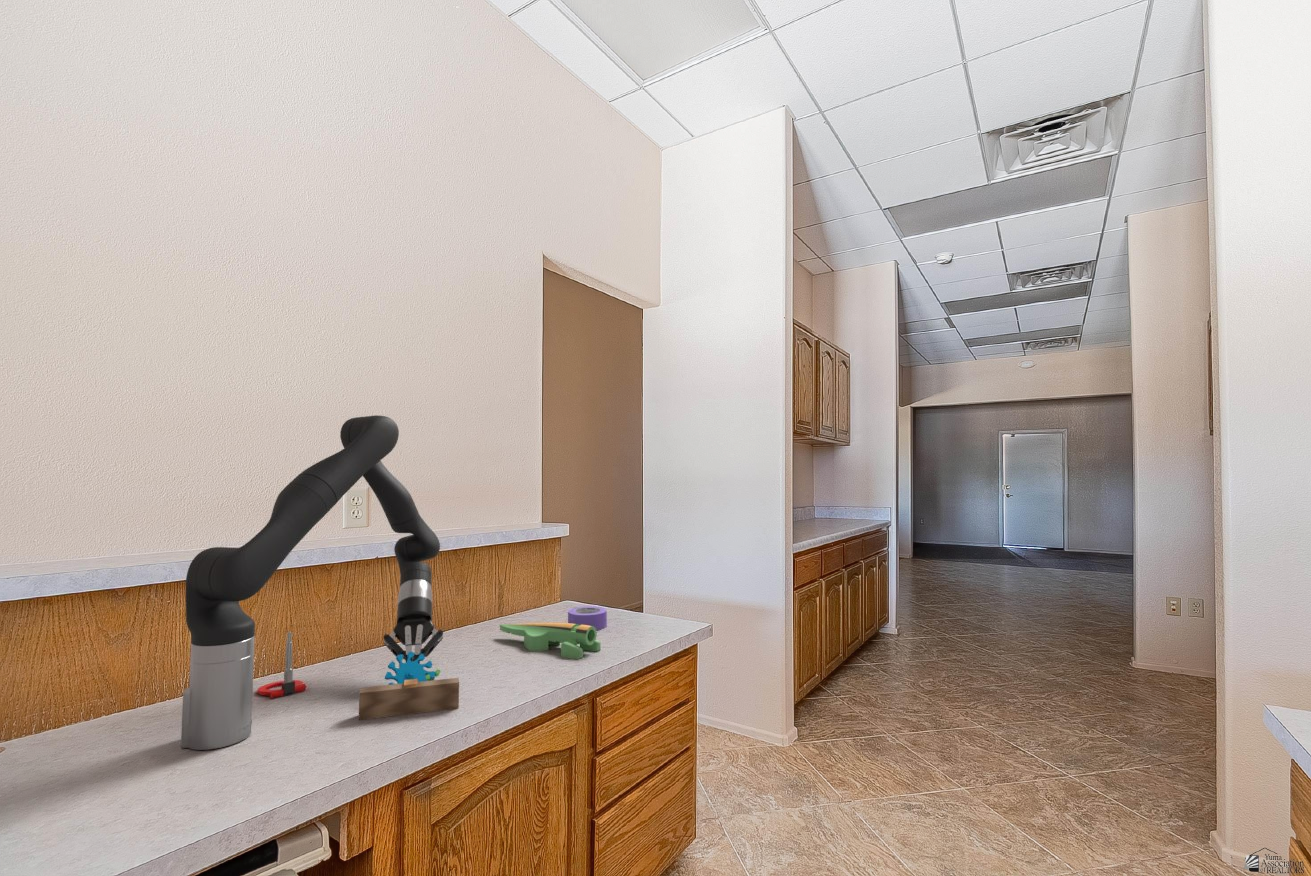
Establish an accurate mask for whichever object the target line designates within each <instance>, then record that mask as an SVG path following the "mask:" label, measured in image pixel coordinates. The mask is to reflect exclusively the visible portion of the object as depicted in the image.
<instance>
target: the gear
mask: <svg viewBox="0 0 1311 876" xmlns="http://www.w3.org/2000/svg"><path fill="white" fill-rule="evenodd" d="M414 654H415V653H414V651H412V652H409V653H408V654H407V657H408V659H407V662H406V661H405V662H403V660H404V659H403V657H404V656H403V654H400V655H397V657H396V656H395V659H396V661H397V662H398V667H396V661H390V662H389V663H388V665H387V668H388V669H390V670H392V671H393V672H394V673H395V675H393V674H392V672H391V671H387V672H386V674H385V676H384V680H388V681H389V680H394V681H396V684H403V683H404V681H405V680H410V679H418V682H422V681H432V680H435V678H436V677H439V675H440V674H441V670H440V669H439V668H438V669H436V670H435V671H434V670H431V671H428V670H425V669H424V668H426V669H431V668H433V662H432V661H431V660H428V661H427V662H425V663H420V664H419V663H418V661H420V662H423V661H424V660H425V658H426V657H425V656H424V655H423V654H420V655H419V657H418V659H417V660H415V661H413V662H412V661H411V660H410V659H411V658H413V656H414ZM394 684H395V683H394V682H388V684H387V685H394Z"/></svg>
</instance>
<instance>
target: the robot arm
mask: <svg viewBox="0 0 1311 876" xmlns="http://www.w3.org/2000/svg"><path fill="white" fill-rule="evenodd" d="M399 436H400V432H399V427H398V423H396V421H395V420H393V419H392V418H391V417H389V416H384V415H367V416H357V417H352V418H349V419H347V420H346V421H345V422H344V423H343V424H342V426H341V428H340V442H341V445H342V447H343V448H342V449H341V450H340V451H338V452H335V453H333V454H332V455H329V456H328V457H325V458H323V459H322V460H320V461H318V462H316V463H313V464H312V465H311V466H309V467H307V468H306V469H304V470H303V471H301V472H300V473H299V474H298V475H297V476H295V478H293V479H292V480H291V481H290V482H289V483H288V484H287V485H286V486H285V487H283V489H282V490H281V491H280V492H279V494H278V496H277V497H276V500H275V502H274V505H273V508H272V512H271V515H270V517H269V520H268V522H267V523H266V524H265V526H264V527H263V528H262V529H261V530H260V531H259V532H258V533H257V534H255V535H254V536H253V537H252V538H251V539H250V540H248V542H246V543H245V544H243V545H242V546H240V547H225V546H223V547H222V546H215V547H209V548H207V549H204V550H201V551H200V552H199V553H197V555H196V556H194V558H193V559H192V560H191V562H190V564H189V567H188V569H187V572H186V576H185V577H186V579H185V621H186V626H187V628H188V630H189V633H190V638H191V639H190V662H189V666H190V667H189V668H190V669H189V686H188V687H187V688H184V690H183V692H182V707H181V708H182V712H181V713H182V715H181V734H180V748H181V749H183V748H186V749H187V748H188V749H190V750H197V751H204V750H205V751H206V750H216V749H219V748H220V749H221V748H224V747H229V746H232V745H234V744H237V743H240V742H242V741H243V740H245V739H247V738H248V737H249V736H250V735H251V733H252V723H253V717H252V716H253V693H254V692H253V691H254V689H253V688H254V668H255V667H254V663H255V638H256V637H255V635H256V624H255V620H254V619H253V618H252V617H250V616H249V615H248V614H247V613H246V612H245V611H244V610H243V609H242V607H241V605H240V601H241V602H242V601H245V600H247V599H250V598H252V597H253V596H254V595H256V594H258V592H259V591H261V589H262V588H264V586H265V585H266V584H267V582H268V581H269V580H270V579H271V577H272V576H273V575H274V573H275V572H276V571H277V570H278V569H279V567H280V566H281V565H282V563H283V562H284V560H286V559H287V558H288V556H289V554H290V553H291V552H292V550H294V549H295V547H297V545H298V544H299V543H300V541H302V540H303V539H304V538H305V536H307V535H308V533H309V532H310V531H311V530H312V529H313V528H314V527H315V526H316V525H317V524H318V523H319V522H320V521H321V520H322V519H323V518H324V517H325V515H327V514H328V513H329V512H330V511H331V509H333V508H334V507H335V506H336V504H337V503H338V502H339V501H340V500H341V499H342V498H343V496H344V495H345V494H346V493H347V492H349V491H350V489H352V488H353V486H354V485H355V484H357V482H358V481H359V480H361V478H364V480H365V481H366V483H367V484H368V486H369V487H370V489H371V490H372V491H373V493H374V494H375V496H376V498H377V500H378V502H379V504H380V506H381V508H382V510H383V513H384V514H385V517H386V519H387V522H388V523H389V526H390V528H391V529H392V531H393V532H394V533H397V534H409V535H407V536H403V537H401V538H399V539H398V540H397V541H396V543H395V545H394V547H393V548H394V549H393V550H394V551H393V552H394V555H395V557H396V560H397V563H398V568H399V574H400V579H399V592H398V596H397V610H396V611H397V612H396V624H395V626H394V627H393V631H392V632H391V633H389V634H384V635H383V644H384V645H385V646H386V648H387V649H388V650H389V651H390V652H391V653H392V654H393V655H394V656H395V658H396V657H397V655H400V654H403V656H404V657H403V659H402V660H405V663H406V662H407V659H408V657H407V654H408V653H409V652H414V653H415V654H414V656H413V658H411V659H410V660H411V661H412V662H413V661H415V660H417V659H418V657H419V655H420V654H423V655H424V656H425V658H427V657H429V656H430V654H431V653H432V652H433V651H434V650H435V648H436V647H437V646H438V645H439V644H440V643H441V642H442V641H443V638H444V631H443V630H442V629H436V628H435V625H434V623H433V603H434V602H433V590H432V575H433V574H432V568H431V566H430V565H429V564H428V563H426V562H423V561H427V560H432V559H433V558H436V557H437V556H438V555H439V553H440V550H441V544H440V539H439V538H438V536H437V534H436V533H435V532H434V531H433V530H432V529H431V528H430V527H429V526H428V523H426V522H425V520H424V518H423V517H421V515H420V513H419V511H418V508H417V506H416V504H415V501H414V499H413V497H412V495H411V494H410V492H409V490H408V489H407V488H406V487H405V485H404V484H402V483H401V482H400V481H399V480H398V479H397V478H396V477H395V476H394V475H393V474H392V473H391V472H390V471H389V469H388V468H387V467H386V466H385V465H384V464H383V462H382V461H381V460H383V459H384V458H386V456H388V455H389V454H390V453H391V452H392V451H393V450H394V448H395V447H396V445H397V444H398V440H399ZM430 636H431V638H430ZM396 638H397V639H396ZM429 638H430V640H429ZM397 640H398V641H399V642H400V644H401V645H403V646H405V650H404V649H403V648H402V647H401V646H400V645H399V643H397V642H396V641H397ZM427 640H428V642H427V643H426V644H425V642H426V641H427ZM423 644H425V645H424V646H422V645H423ZM413 646H414V651H413V650H412V649H413ZM422 647H423V648H422ZM418 663H419V664H421V661H418Z"/></svg>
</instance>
